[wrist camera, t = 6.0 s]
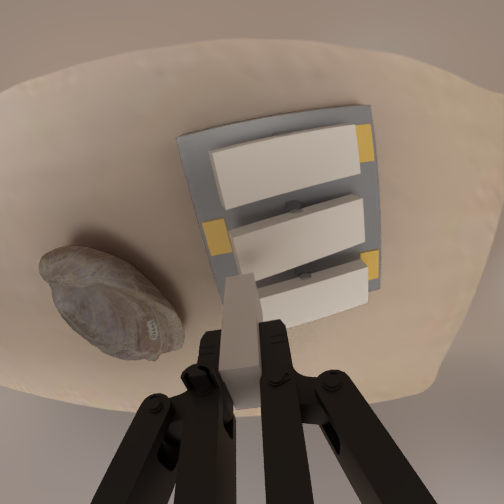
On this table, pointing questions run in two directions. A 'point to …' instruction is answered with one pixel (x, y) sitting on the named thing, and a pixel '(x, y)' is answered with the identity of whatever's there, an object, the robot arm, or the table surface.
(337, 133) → the plate
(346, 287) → the rocker
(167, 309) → the seashell
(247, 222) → the switch unit
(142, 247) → the table surface
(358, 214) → the rocker
